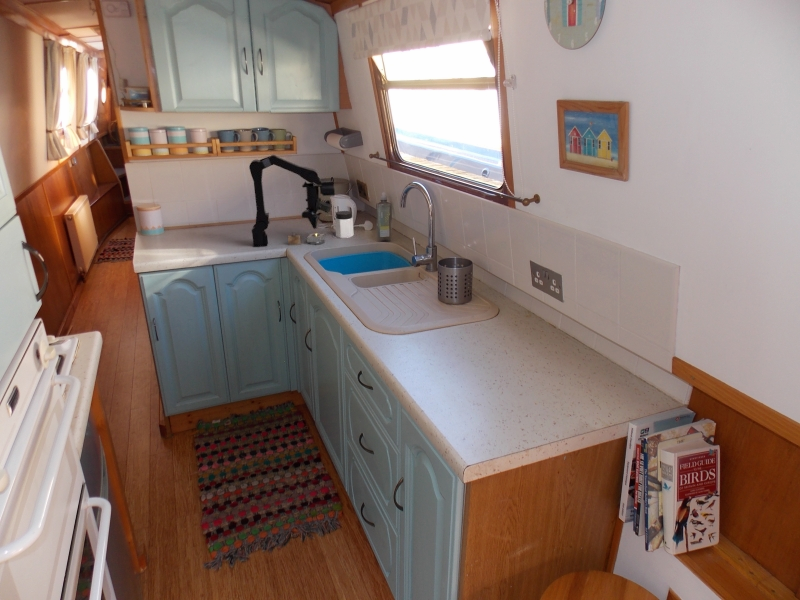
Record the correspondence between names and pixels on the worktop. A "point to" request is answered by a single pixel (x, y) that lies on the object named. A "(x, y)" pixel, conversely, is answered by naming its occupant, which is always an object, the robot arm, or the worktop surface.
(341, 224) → the jar
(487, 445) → the worktop surface
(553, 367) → the worktop surface
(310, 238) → the square frame block
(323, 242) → the hub
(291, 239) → the stand
